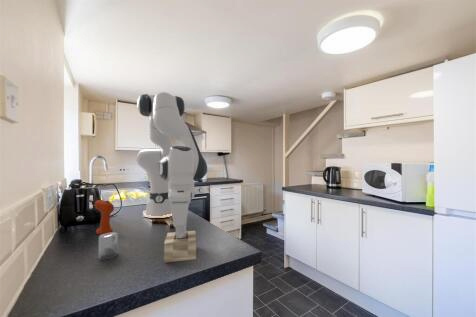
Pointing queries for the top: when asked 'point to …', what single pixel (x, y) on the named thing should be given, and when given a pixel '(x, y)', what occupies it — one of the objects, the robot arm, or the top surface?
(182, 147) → the robot arm
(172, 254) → the socket block
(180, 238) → the square bit
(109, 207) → the toy drill
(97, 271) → the top surface
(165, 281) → the top surface
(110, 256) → the round bit
